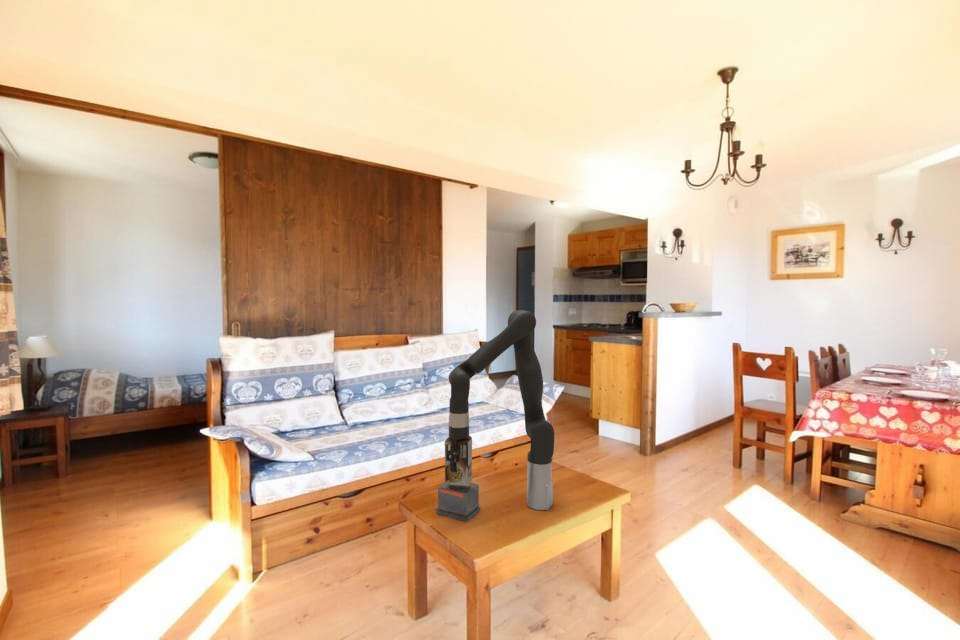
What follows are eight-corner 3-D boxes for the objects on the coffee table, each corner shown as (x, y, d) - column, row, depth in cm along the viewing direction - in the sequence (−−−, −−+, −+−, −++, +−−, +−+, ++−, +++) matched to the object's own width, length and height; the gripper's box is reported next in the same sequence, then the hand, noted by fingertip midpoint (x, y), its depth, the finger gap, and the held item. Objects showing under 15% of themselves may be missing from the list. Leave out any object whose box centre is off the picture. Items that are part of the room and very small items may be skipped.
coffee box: (472, 479, 168) (472, 437, 167) (468, 486, 161) (468, 442, 161) (449, 477, 170) (449, 435, 169) (444, 484, 163) (444, 440, 163)
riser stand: (480, 510, 167) (480, 484, 167) (466, 522, 158) (467, 494, 158) (450, 503, 173) (450, 477, 173) (436, 513, 164) (436, 486, 164)
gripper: (460, 418, 173) (460, 460, 173) (439, 427, 160) (439, 472, 161) (477, 420, 169) (477, 463, 170) (457, 430, 156) (457, 476, 157)
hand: (458, 468), depth 165 cm, fingers closed on coffee box, 7 cm apart
